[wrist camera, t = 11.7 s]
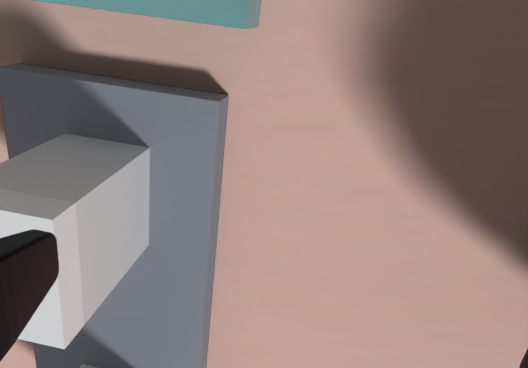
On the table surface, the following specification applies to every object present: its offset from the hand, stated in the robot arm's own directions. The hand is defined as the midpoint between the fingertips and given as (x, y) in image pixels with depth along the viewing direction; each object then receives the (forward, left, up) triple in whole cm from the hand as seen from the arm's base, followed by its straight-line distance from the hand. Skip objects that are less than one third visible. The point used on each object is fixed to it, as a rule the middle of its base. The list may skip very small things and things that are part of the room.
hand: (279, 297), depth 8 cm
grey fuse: (+9, +4, -10) cm, 14 cm away
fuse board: (+9, +11, -12) cm, 19 cm away
